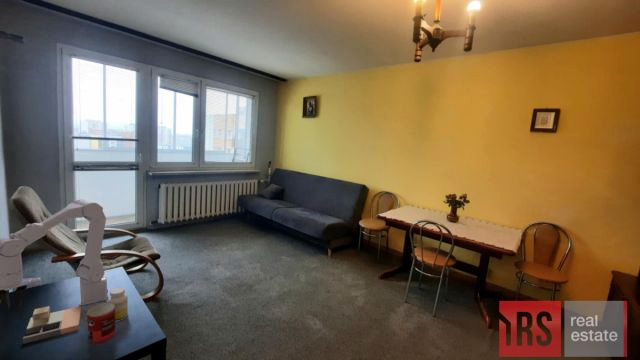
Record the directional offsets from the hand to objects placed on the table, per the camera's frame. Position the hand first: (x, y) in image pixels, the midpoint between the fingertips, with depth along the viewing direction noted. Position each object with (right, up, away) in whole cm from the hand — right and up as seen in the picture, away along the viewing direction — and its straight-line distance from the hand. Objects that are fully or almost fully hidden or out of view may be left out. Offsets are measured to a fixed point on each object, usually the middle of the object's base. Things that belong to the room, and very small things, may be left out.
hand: (13, 307), depth 101 cm
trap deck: (+10, -10, +5) cm, 15 cm away
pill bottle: (+28, -10, +13) cm, 32 cm away
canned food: (+30, -12, +2) cm, 32 cm away
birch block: (+5, -7, +5) cm, 10 cm away
